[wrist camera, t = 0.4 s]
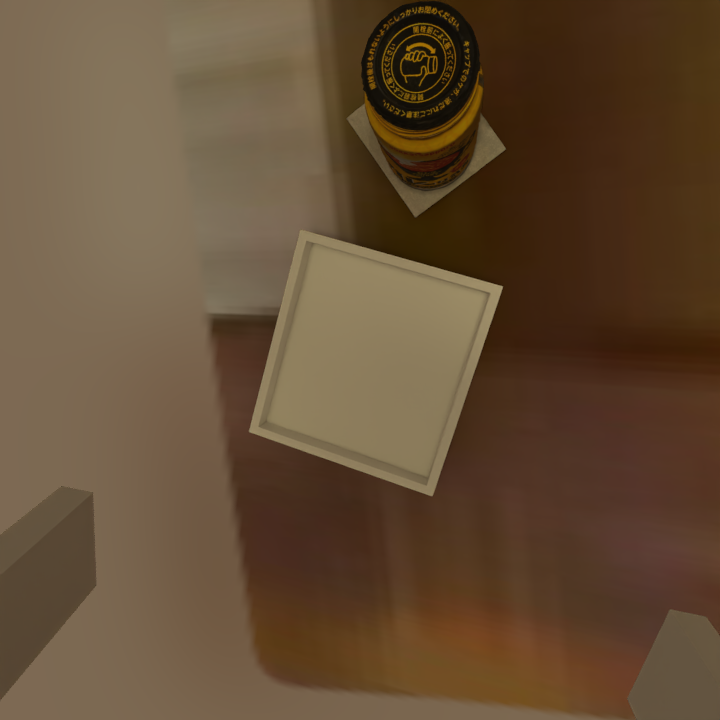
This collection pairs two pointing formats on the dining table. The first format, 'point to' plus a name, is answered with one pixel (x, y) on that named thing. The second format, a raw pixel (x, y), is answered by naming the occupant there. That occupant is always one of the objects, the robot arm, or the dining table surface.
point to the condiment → (424, 103)
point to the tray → (372, 360)
